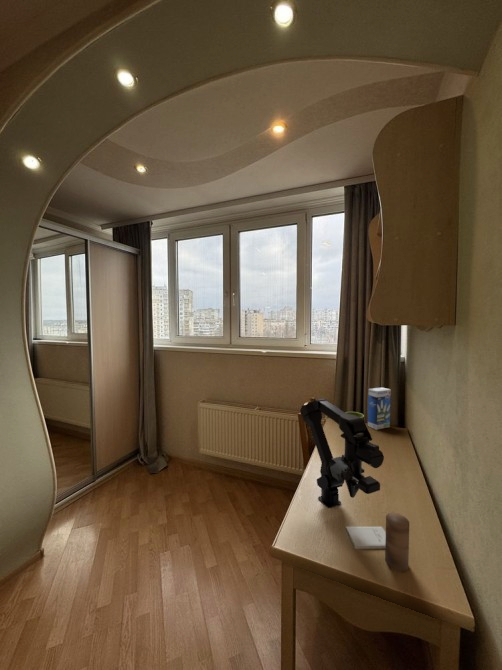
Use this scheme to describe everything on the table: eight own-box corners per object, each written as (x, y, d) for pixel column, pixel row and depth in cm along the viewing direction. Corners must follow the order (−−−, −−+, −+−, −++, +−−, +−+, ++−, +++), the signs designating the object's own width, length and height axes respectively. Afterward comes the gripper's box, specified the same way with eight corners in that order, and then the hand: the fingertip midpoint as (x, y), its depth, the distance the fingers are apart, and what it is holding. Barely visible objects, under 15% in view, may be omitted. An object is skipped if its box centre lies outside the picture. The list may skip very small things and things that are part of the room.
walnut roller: (381, 554, 82) (381, 513, 82) (400, 553, 83) (401, 512, 82) (392, 572, 76) (393, 528, 76) (413, 571, 77) (414, 527, 76)
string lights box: (376, 430, 178) (377, 391, 177) (367, 426, 185) (367, 388, 184) (390, 426, 184) (391, 389, 182) (380, 423, 190) (381, 386, 189)
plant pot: (361, 428, 180) (362, 412, 179) (365, 436, 168) (365, 418, 168) (343, 427, 183) (343, 410, 182) (345, 434, 171) (345, 416, 171)
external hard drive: (345, 530, 93) (381, 530, 93) (354, 550, 84) (394, 550, 85) (345, 526, 93) (381, 525, 93) (355, 545, 84) (394, 545, 85)
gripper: (317, 446, 100) (317, 487, 101) (355, 472, 83) (354, 521, 84) (341, 441, 105) (340, 480, 105) (382, 464, 87) (380, 511, 88)
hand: (352, 497), depth 96 cm, fingers closed
